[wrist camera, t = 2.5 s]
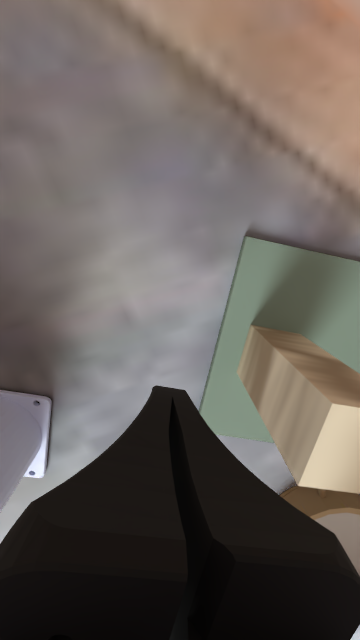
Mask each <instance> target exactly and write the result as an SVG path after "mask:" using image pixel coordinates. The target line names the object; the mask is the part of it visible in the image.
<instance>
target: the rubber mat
mask: <svg viewBox="0 0 360 640" xmlns="http://www.w3.org/2000/svg"><path fill="white" fill-rule="evenodd" d="M250 325H255V326H260V327H266V328H271V329H276V330H281V331H287V332H292V333H297V334H301V335H302V336H304V337H305V338H307V339H308V340H310V341H311V342H313V343H314V344H316V345H317V346H319V347H320V348H322V349H323V350H325V351H326V352H328V353H329V354H331V355H332V356H334V357H335V358H337V359H338V360H340V361H341V362H343V363H344V364H346V365H347V366H349V367H350V368H352V369H353V370H355V371H356V372H358V373H359V374H360V262H359V261H354V260H350V259H345V258H341V257H336V256H332V255H327V254H323V253H318V252H314V251H309V250H305V249H301V248H296V247H292V246H287V245H283V244H278V243H274V242H269V241H265V240H260V239H256V238H251V237H247V236H246V237H244V239H243V243H242V247H241V251H240V255H239V258H238V262H237V266H236V270H235V274H234V278H233V281H232V285H231V289H230V293H229V297H228V301H227V305H226V308H225V312H224V316H223V320H222V324H221V328H220V331H219V335H218V339H217V343H216V347H215V351H214V355H213V358H212V362H211V366H210V370H209V374H208V378H207V382H206V385H205V389H204V393H203V397H202V401H201V405H200V408H199V413H200V415H201V416H202V417H203V419H204V420H205V422H206V423H207V425H208V426H209V427H210V429H211V430H212V431H213V432H214V434H216V435H223V436H230V437H237V438H244V439H251V440H258V441H265V442H271V443H275V442H274V441H273V439H272V437H271V435H270V433H269V431H268V429H267V428H266V426H265V424H264V422H263V420H262V418H261V416H260V415H259V413H258V411H257V409H256V407H255V405H254V403H253V402H252V400H251V398H250V396H249V394H248V392H247V391H246V389H245V387H244V385H243V383H242V381H241V379H240V378H239V376H238V374H237V369H238V366H239V362H240V359H241V355H242V352H243V349H244V345H245V342H246V338H247V335H248V331H249V328H250Z"/></svg>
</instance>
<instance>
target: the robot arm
mask: <svg viewBox="0 0 360 640" xmlns="http://www.w3.org/2000/svg"><path fill="white" fill-rule="evenodd" d="M36 401H39V402H40V403H37V402H36ZM50 415H51V400H50V398H48V397H46V396H39V395H32V394H26V393H19V392H12V391H5V390H0V513H1V511H2V509H3V508H4V506H5V505H6V503H7V502H8V500H9V498H10V497H11V495H12V494H13V492H14V490H15V489H16V487H17V486H18V484H19V482H20V481H21V479H22V478H23V476H26V477H34V478H41V477H43V476H44V475H45V473H46V465H47V452H48V440H49V428H50ZM359 625H360V576H359V574H358V572H357V570H356V569H355V567H354V565H353V564H352V562H351V560H350V558H349V557H348V555H347V553H346V551H345V550H344V548H343V546H342V545H341V543H340V541H339V540H338V538H337V537H336V535H335V534H334V533H333V532H331V531H330V530H328V529H327V528H325V527H324V526H322V525H321V524H319V523H318V522H316V521H315V520H313V519H312V518H310V517H309V516H307V515H306V514H304V513H303V512H301V511H300V510H298V509H297V508H295V507H294V506H293V505H291V504H290V503H289V502H287V501H286V500H285V499H283V498H282V497H281V496H279V495H278V494H277V493H275V492H274V491H273V490H272V489H270V488H269V487H268V486H267V485H266V484H264V483H263V482H262V481H261V480H260V479H258V478H257V477H256V476H255V475H254V474H253V473H252V472H251V471H249V470H248V469H247V468H246V467H245V466H244V465H243V464H242V463H241V462H240V461H239V460H238V459H237V458H236V457H235V456H234V455H233V454H232V453H231V452H230V451H229V450H228V449H227V448H226V447H225V445H224V444H223V443H222V442H221V441H220V440H219V439H218V437H217V436H216V435H215V434H214V432H213V431H212V430H211V429H210V427H209V426H208V425H207V423H206V422H205V420H204V419H203V417H202V416H201V415H200V413H199V411H198V410H197V408H196V407H195V405H194V404H193V402H192V400H191V399H190V397H189V396H188V394H187V392H186V391H185V390H181V389H174V388H168V387H162V386H154V387H153V388H152V392H151V395H150V397H149V399H148V401H147V402H146V404H145V406H144V407H143V409H142V410H141V412H140V413H139V415H138V416H137V417H136V418H135V420H134V421H133V422H132V424H131V425H130V426H129V427H128V428H127V430H126V431H125V432H124V433H123V434H122V435H121V436H120V437H119V438H118V439H117V440H116V441H115V442H114V443H113V444H112V445H111V446H110V447H109V448H108V449H107V450H106V451H104V452H103V453H102V454H101V455H100V456H99V457H98V458H96V459H95V460H94V461H93V462H91V463H90V464H89V465H87V466H86V467H85V468H83V469H82V470H81V471H79V472H78V473H77V474H75V475H74V476H73V477H71V478H70V479H68V480H67V481H65V482H64V483H62V484H60V485H59V486H57V487H56V488H54V489H52V490H51V491H49V492H48V493H46V494H44V495H43V496H41V497H39V498H38V499H36V500H34V501H33V502H31V503H30V504H29V506H28V507H27V508H26V509H25V511H24V512H23V513H22V515H21V516H20V517H19V518H18V520H17V521H16V522H15V524H14V525H13V526H12V528H11V529H10V531H9V532H8V533H7V535H6V536H5V538H4V539H3V541H2V542H1V544H0V640H350V639H351V638H352V636H353V634H354V633H355V631H356V629H357V628H358V626H359Z"/></svg>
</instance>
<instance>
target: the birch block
mask: <svg viewBox="0 0 360 640" xmlns="http://www.w3.org/2000/svg"><path fill="white" fill-rule="evenodd" d="M237 374H238V376H239V378H240V379H241V381H242V383H243V385H244V387H245V389H246V391H247V392H248V394H249V396H250V398H251V400H252V402H253V403H254V405H255V407H256V409H257V411H258V413H259V415H260V416H261V418H262V420H263V422H264V424H265V426H266V428H267V429H268V431H269V433H270V435H271V437H272V439H273V441H274V442H275V444H276V446H277V448H278V450H279V452H280V453H281V455H282V457H283V459H284V461H285V463H286V465H287V466H288V468H289V470H290V472H291V474H292V476H293V478H294V479H295V481H296V483H297V485H298V486H303V487H311V488H318V489H326V490H334V491H342V492H350V493H358V494H360V374H359V373H358V372H356V371H355V370H353V369H352V368H350V367H349V366H347V365H346V364H344V363H343V362H341V361H340V360H338V359H337V358H335V357H334V356H332V355H331V354H329V353H328V352H326V351H325V350H323V349H322V348H320V347H319V346H317V345H316V344H314V343H313V342H311V341H310V340H308V339H307V338H305V337H304V336H302V335H301V334H297V333H292V332H287V331H281V330H276V329H271V328H266V327H260V326H255V325H250V328H249V331H248V335H247V338H246V342H245V345H244V349H243V352H242V355H241V359H240V362H239V366H238V369H237Z"/></svg>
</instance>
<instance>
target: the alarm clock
mask: <svg viewBox="0 0 360 640" xmlns="http://www.w3.org/2000/svg"><path fill="white" fill-rule="evenodd" d="M279 496H281V497H282V498H283V499H285V500H286V501H287V502H289V503H290V504H291V505H293V506H294V507H295V508H297V509H298V510H300V511H301V512H303V513H304V514H306V515H307V516H309V517H310V518H312V519H313V520H315V521H316V522H318V523H319V524H321V525H322V526H324V527H325V528H327V529H328V530H330V531H331V532H333V533H334V534H335V535H336V537H337V538H338V540H339V541H340V543H341V545H342V546H343V548H344V550H345V551H346V553H347V555H348V557H349V558H350V560H351V562H352V564H353V565H354V567H355V569H356V570H357V572H358V574H359V576H360V496H359V494H358V493H350V492H342V491H334V490H326V489H318V488H311V487H303V486H295V487H292V488H290V489H288V490H287V491H285V492H283V493H282V494H281V495H279Z"/></svg>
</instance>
